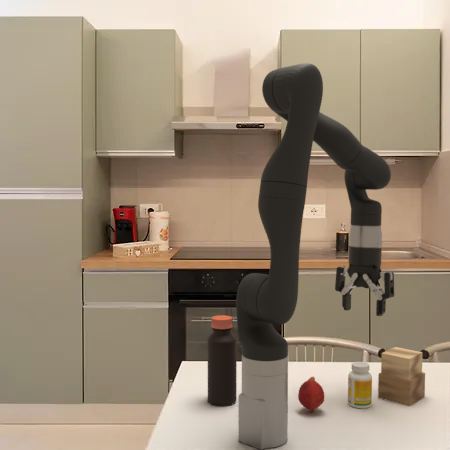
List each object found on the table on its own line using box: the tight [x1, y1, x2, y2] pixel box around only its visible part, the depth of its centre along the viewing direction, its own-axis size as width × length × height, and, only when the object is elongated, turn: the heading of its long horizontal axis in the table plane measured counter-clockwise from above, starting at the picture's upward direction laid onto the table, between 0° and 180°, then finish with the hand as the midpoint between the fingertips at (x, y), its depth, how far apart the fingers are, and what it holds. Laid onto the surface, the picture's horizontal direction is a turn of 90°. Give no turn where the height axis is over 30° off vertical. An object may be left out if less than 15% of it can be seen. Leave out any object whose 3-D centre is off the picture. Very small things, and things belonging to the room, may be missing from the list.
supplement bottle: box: [347, 361, 373, 409], centre depth 135 cm, size 5×5×10 cm
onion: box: [297, 376, 325, 413], centre depth 131 cm, size 6×6×8 cm
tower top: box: [380, 346, 423, 380], centre depth 140 cm, size 7×7×5 cm
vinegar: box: [207, 315, 238, 407], centre depth 137 cm, size 7×7×20 cm
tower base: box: [377, 371, 426, 407], centre depth 140 cm, size 8×8×6 cm
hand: (363, 312), depth 139 cm, fingers open, 8 cm apart
